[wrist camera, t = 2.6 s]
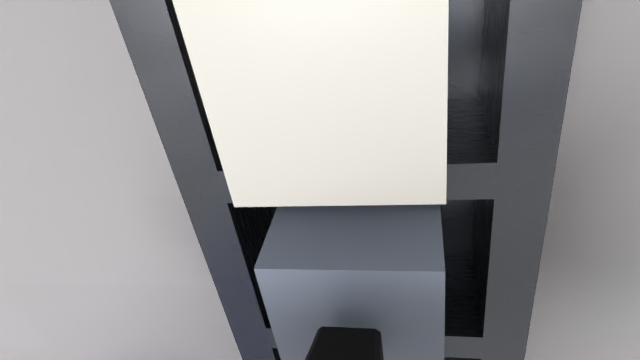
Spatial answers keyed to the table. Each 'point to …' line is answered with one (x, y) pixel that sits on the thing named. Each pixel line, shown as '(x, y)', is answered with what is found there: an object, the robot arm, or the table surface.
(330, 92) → the ivory key
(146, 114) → the table surface
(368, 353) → the robot arm
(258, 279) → the slate key
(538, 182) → the grey compartment tray
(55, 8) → the table surface
